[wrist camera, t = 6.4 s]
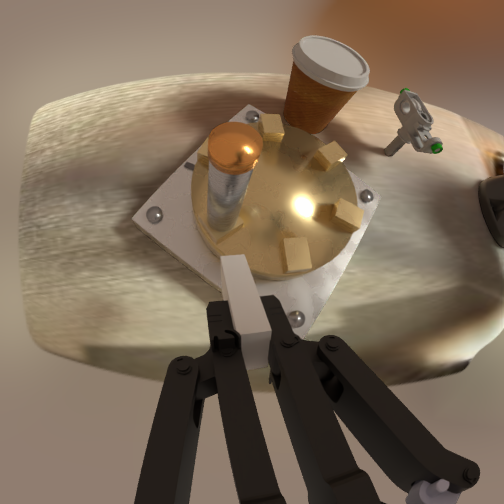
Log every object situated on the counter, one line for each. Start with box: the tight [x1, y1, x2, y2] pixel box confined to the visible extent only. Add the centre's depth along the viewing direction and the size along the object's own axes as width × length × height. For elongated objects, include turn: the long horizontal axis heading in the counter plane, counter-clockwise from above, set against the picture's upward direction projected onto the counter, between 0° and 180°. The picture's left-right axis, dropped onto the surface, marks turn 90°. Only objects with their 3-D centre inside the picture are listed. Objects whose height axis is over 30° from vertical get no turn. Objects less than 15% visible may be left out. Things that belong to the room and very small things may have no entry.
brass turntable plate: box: [191, 114, 364, 281], centre depth 21 cm, size 16×16×14 cm
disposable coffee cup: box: [283, 36, 369, 134], centre depth 29 cm, size 10×10×12 cm
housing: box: [132, 104, 381, 339], centre depth 29 cm, size 20×20×3 cm
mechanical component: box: [384, 88, 443, 156], centre depth 32 cm, size 3×10×10 cm, turn 10°
